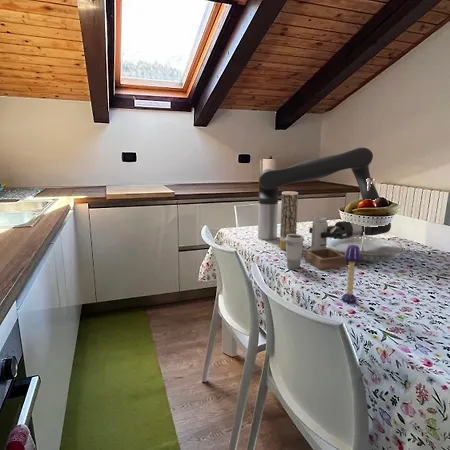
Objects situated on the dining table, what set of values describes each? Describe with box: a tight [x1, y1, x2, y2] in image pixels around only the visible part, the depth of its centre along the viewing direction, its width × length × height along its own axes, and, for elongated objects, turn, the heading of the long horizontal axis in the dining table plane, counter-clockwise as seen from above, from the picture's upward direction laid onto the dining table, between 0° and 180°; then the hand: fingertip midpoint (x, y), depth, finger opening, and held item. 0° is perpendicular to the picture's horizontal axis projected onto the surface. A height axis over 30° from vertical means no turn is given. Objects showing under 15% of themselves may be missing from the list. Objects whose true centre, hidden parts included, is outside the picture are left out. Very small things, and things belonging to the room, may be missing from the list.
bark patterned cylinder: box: [279, 190, 299, 251], centre depth 148 cm, size 7×7×25 cm
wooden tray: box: [304, 247, 347, 271], centre depth 132 cm, size 11×11×4 cm
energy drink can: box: [310, 216, 329, 251], centre depth 143 cm, size 6×6×15 cm
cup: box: [285, 233, 305, 270], centre depth 128 cm, size 7×7×12 cm
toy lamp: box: [341, 244, 362, 304], centre depth 100 cm, size 5×5×17 cm
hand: (315, 233), depth 142 cm, fingers open, 8 cm apart
